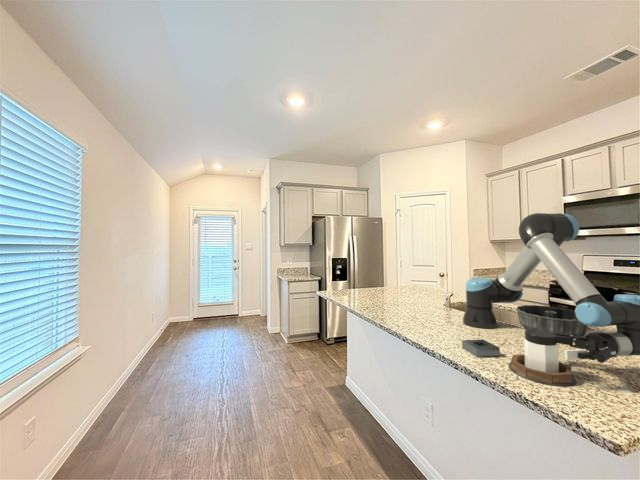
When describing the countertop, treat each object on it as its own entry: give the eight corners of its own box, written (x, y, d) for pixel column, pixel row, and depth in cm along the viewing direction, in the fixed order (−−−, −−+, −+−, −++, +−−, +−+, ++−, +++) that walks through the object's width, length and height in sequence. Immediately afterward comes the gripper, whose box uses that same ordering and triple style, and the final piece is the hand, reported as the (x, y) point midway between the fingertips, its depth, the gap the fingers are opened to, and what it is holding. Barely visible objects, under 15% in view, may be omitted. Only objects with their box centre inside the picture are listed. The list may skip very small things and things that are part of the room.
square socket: (462, 347, 110) (462, 340, 110) (483, 347, 111) (483, 339, 111) (476, 357, 101) (476, 348, 101) (499, 356, 102) (499, 347, 102)
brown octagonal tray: (496, 362, 97) (496, 354, 97) (541, 360, 98) (541, 352, 98) (538, 387, 80) (538, 377, 80) (592, 384, 81) (592, 375, 81)
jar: (540, 377, 85) (539, 338, 85) (518, 365, 93) (517, 330, 93) (566, 375, 86) (565, 336, 86) (542, 364, 94) (541, 328, 94)
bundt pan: (607, 340, 118) (607, 317, 118) (558, 345, 112) (557, 321, 112) (545, 323, 143) (545, 303, 143) (503, 326, 138) (502, 306, 138)
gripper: (656, 373, 78) (585, 376, 76) (570, 342, 103) (516, 344, 101) (655, 346, 78) (585, 349, 77) (569, 321, 103) (515, 323, 101)
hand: (545, 346), depth 89 cm, fingers open, 13 cm apart
